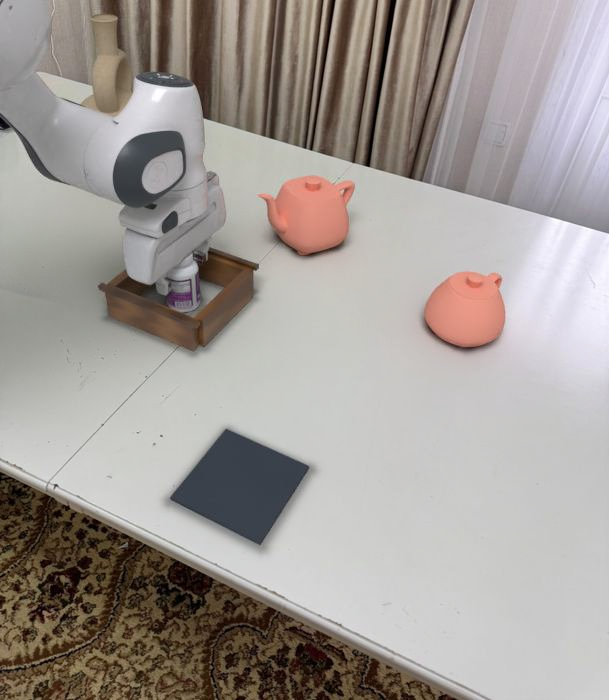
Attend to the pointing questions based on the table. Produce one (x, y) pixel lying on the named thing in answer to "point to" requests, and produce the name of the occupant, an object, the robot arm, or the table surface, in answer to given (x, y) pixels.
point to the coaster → (241, 485)
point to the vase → (109, 70)
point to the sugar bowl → (467, 309)
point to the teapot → (310, 213)
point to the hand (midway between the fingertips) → (183, 276)
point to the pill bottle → (184, 285)
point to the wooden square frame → (175, 324)
